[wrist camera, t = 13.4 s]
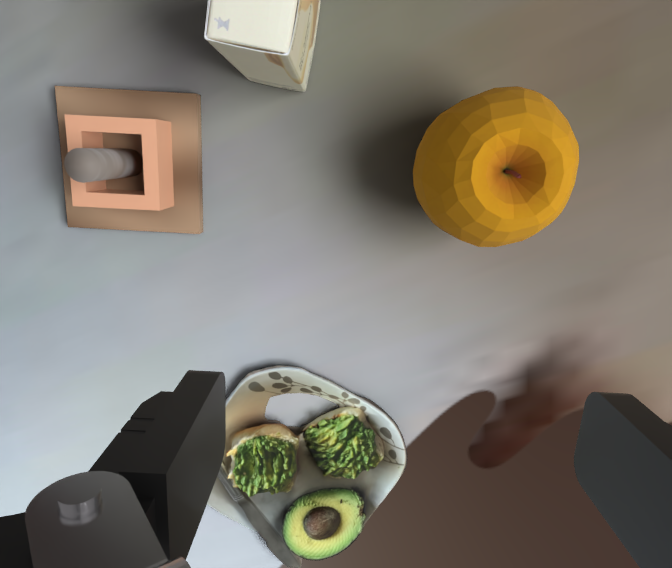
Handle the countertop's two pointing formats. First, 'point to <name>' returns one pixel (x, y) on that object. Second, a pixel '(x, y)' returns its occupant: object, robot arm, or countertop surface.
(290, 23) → the skincare box
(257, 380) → the avocado toast plate
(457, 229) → the apple
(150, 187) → the ring
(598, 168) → the countertop surface
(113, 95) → the post stand
